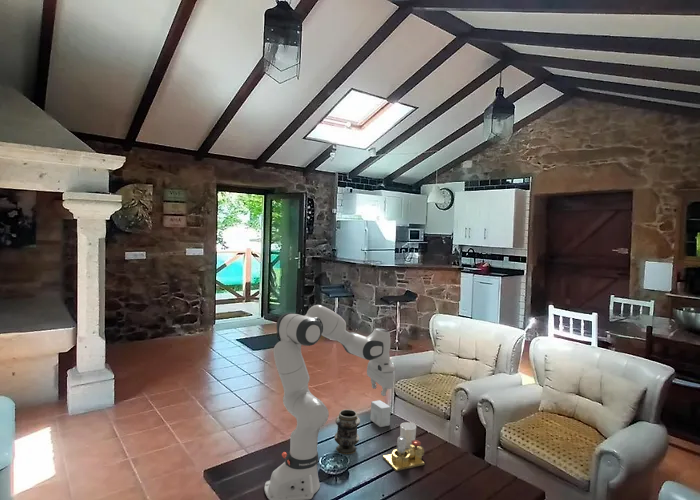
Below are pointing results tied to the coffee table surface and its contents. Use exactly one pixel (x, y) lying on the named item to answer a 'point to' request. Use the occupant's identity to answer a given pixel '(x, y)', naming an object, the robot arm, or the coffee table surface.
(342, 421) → the apothecary jar
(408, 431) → the white cup
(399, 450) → the silver metal cylinder
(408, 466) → the brass valve fitting
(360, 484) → the coffee table surface
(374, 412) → the skincare box
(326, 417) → the robot arm
